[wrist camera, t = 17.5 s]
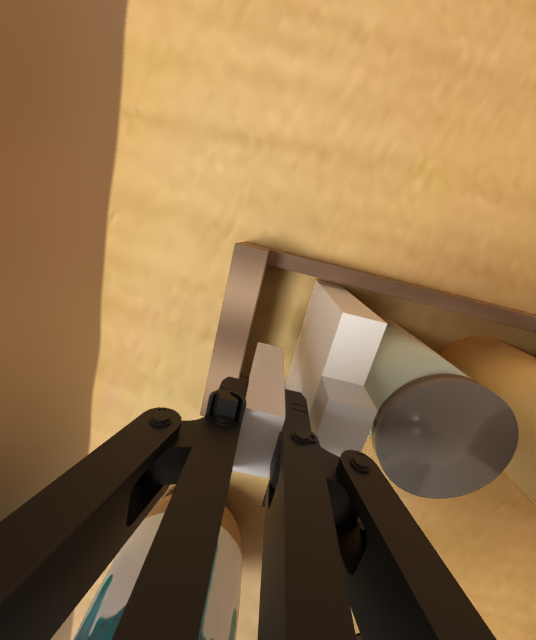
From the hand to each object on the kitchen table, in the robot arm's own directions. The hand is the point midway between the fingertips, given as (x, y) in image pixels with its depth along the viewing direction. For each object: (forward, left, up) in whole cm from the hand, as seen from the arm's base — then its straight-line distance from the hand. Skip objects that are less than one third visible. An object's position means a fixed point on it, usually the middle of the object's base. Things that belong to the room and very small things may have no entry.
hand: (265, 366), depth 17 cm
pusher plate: (0, -3, -7) cm, 8 cm away
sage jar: (0, -9, -7) cm, 11 cm away
